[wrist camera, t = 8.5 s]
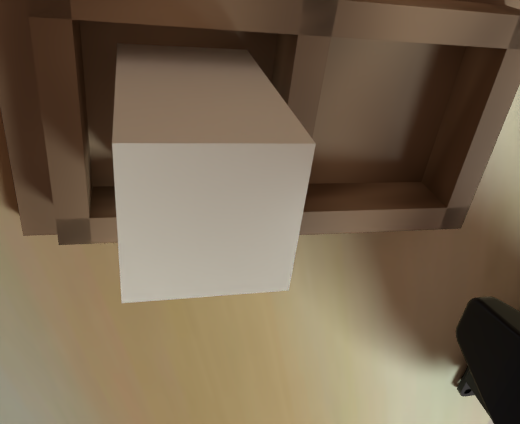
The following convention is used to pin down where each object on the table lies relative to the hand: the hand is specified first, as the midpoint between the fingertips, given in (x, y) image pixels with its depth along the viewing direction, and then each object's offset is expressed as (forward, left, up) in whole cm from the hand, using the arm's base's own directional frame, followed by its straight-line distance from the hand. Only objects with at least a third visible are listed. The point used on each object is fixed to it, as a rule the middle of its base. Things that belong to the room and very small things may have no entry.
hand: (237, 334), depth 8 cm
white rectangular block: (0, 0, -10) cm, 10 cm away
